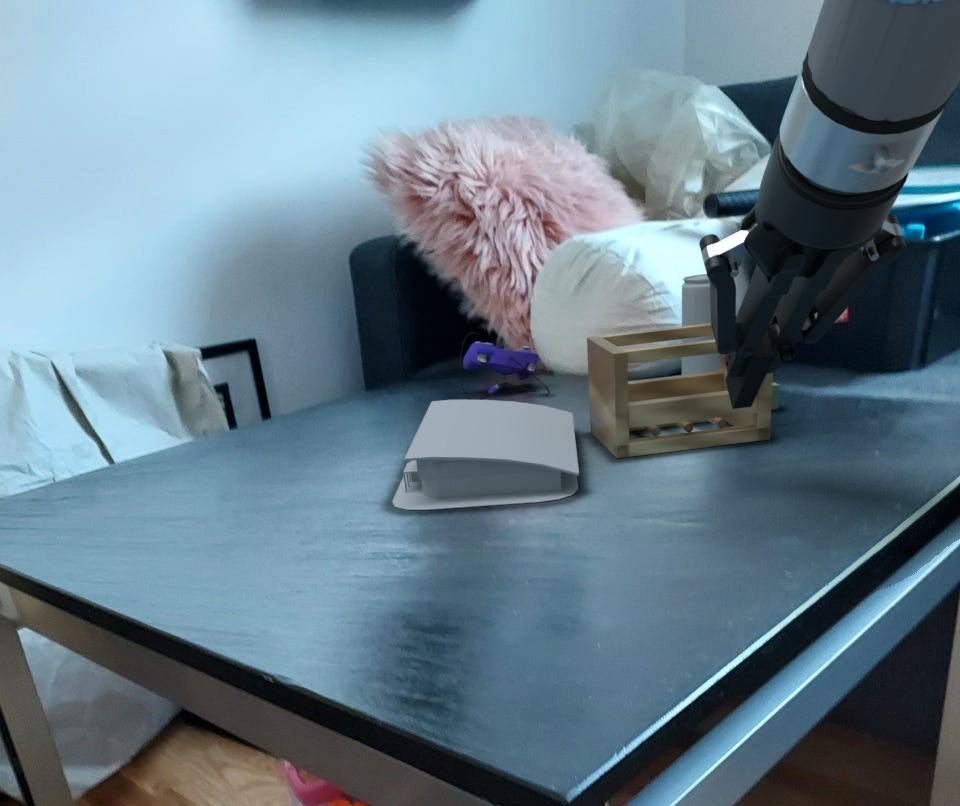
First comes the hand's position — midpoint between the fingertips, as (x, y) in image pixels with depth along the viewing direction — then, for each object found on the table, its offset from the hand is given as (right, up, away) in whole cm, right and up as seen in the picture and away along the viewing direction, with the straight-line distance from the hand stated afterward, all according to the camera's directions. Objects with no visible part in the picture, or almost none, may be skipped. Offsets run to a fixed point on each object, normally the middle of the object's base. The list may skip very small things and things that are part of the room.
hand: (738, 393), depth 75 cm
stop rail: (+4, +3, +20) cm, 20 cm away
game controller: (-17, +10, +38) cm, 43 cm away
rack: (-2, 0, +14) cm, 14 cm away
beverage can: (+4, +7, +28) cm, 29 cm away
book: (-19, -4, +11) cm, 22 cm away
